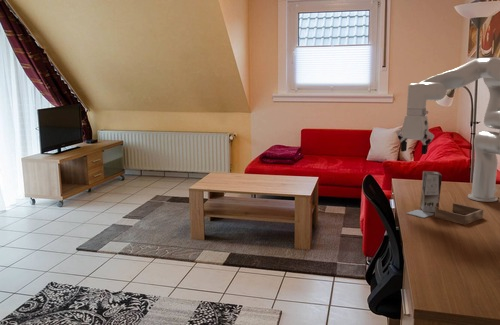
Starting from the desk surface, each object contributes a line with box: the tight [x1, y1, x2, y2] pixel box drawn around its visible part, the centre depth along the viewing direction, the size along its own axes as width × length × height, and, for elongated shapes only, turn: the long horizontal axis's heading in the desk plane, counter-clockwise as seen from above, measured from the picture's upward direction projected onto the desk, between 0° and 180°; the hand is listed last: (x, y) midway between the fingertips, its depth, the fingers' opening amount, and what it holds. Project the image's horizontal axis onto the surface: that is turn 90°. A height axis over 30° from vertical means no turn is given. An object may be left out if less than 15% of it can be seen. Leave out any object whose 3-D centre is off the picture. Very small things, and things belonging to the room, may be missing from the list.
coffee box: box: [419, 170, 443, 214], centre depth 206 cm, size 9×6×16 cm
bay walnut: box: [434, 202, 484, 226], centre depth 197 cm, size 14×13×4 cm
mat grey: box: [406, 209, 435, 219], centre depth 202 cm, size 8×8×1 cm
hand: (413, 152), depth 209 cm, fingers open, 9 cm apart
